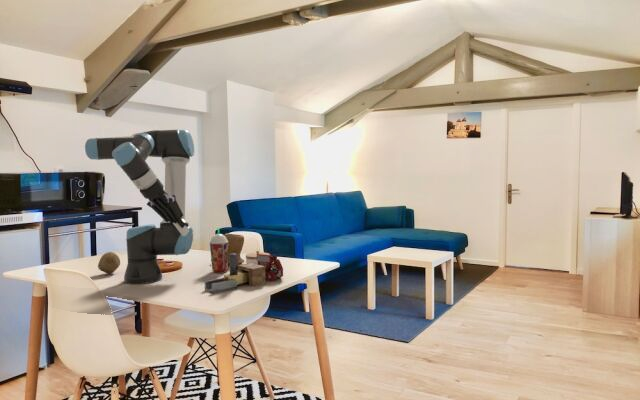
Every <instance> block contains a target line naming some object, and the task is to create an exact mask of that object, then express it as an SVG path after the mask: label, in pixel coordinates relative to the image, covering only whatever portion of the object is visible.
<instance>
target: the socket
mask: <svg viewBox="0 0 640 400" xmlns="http://www.w3.org/2000/svg"><path fill="white" fill-rule="evenodd" d="M243 271H249V282H248V286H250V287H257V286H262V285H263V286H264V285H266V281H267V279H266V277H265V266H261V265H256V264H252V263H240V264H238V272H243ZM245 283H246V282H244V283H243V284H245Z"/></svg>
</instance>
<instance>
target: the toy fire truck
mask: <svg viewBox="0 0 640 400" xmlns="http://www.w3.org/2000/svg"><path fill="white" fill-rule="evenodd" d="M257 261H258V265H261V266H265V280H266V281H268V282H273V281H275V280H276V279H277V280H279V279H281V278H283V277H284V267H283V265H282V263H281V261H280V259H279V258H278V256H277V255H276V254H273V255H271V254H270V255H264V254H258V255H257Z"/></svg>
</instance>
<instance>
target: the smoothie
mask: <svg viewBox="0 0 640 400" xmlns="http://www.w3.org/2000/svg"><path fill="white" fill-rule="evenodd" d="M224 235H225V234H223V233H220V227H217V233H216V234H214V235H213V236H212V237H211V239H210V241H209V249H210V261H211V268H212V270H213V273H215V274H220V273H221V274H222V273H225V272H227V270H228V269H229V267H228V266H229V264H228V240H227V238H226V237H225V236H224Z"/></svg>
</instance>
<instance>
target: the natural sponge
mask: <svg viewBox="0 0 640 400" xmlns="http://www.w3.org/2000/svg"><path fill="white" fill-rule="evenodd" d="M120 266H121V259H120V256H119V255H118V254H116V253H115V252H112V251H109V252H108V251H107V252H106V253H104V254H103V255H102V256H101V257H100V259H99V262H98V264H97V267H98V271H101V272H103V273H105V274H107V273H111V274H113V273H114V272H116V271H117V269H118V268H119V267H120Z"/></svg>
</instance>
